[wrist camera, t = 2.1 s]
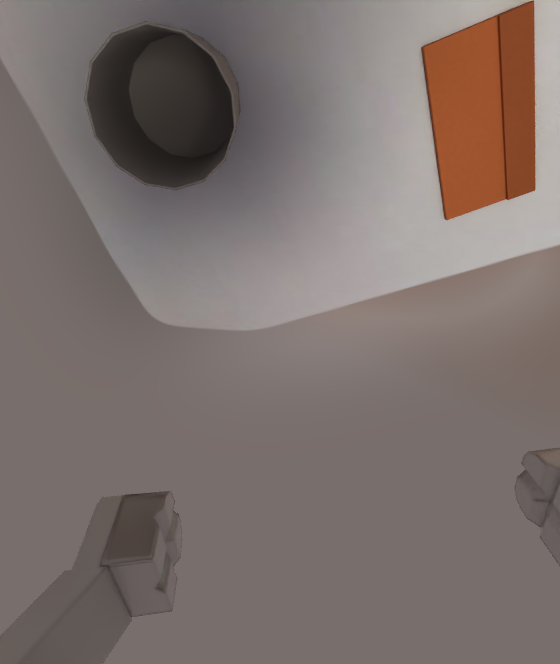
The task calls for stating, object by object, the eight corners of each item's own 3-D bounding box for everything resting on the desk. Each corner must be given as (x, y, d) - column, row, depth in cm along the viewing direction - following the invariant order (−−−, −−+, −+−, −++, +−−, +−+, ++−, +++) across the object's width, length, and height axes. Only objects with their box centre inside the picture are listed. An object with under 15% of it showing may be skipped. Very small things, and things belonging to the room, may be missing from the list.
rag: (421, 47, 31) (424, 47, 30) (531, 0, 29) (536, -1, 29) (445, 219, 38) (448, 221, 37) (533, 187, 37) (537, 189, 36)
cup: (157, 169, 34) (127, 204, 26) (109, 55, 30) (54, 53, 21) (253, 139, 33) (254, 166, 25) (219, 17, 29) (206, 0, 21)
